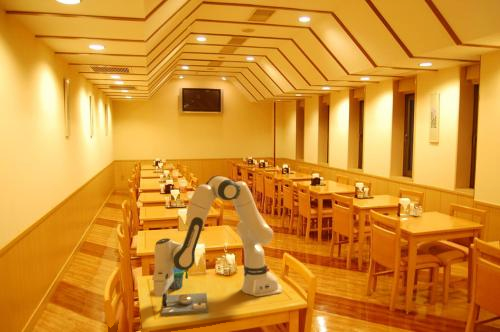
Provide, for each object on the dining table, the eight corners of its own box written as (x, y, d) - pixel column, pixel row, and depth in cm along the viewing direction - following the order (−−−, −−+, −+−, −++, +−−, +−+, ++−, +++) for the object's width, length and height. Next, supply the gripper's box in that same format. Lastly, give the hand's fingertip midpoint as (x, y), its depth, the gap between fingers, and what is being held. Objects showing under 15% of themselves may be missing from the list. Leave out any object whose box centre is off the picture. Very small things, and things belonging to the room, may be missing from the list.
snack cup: (184, 281, 238) (183, 264, 237) (191, 287, 230) (191, 270, 229) (158, 287, 230) (158, 270, 229) (165, 293, 221) (165, 275, 220)
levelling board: (206, 295, 218) (206, 288, 218) (208, 313, 199) (207, 304, 198) (163, 298, 215) (163, 290, 215) (161, 316, 195) (160, 307, 195)
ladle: (190, 298, 210) (190, 287, 210) (193, 304, 204) (193, 292, 203) (161, 303, 205) (161, 291, 204) (163, 309, 198) (163, 297, 198)
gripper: (164, 263, 214) (165, 288, 215) (150, 278, 193) (152, 306, 195) (176, 264, 213) (177, 289, 214) (163, 279, 193) (164, 306, 194)
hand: (165, 297), depth 204 cm, fingers closed
